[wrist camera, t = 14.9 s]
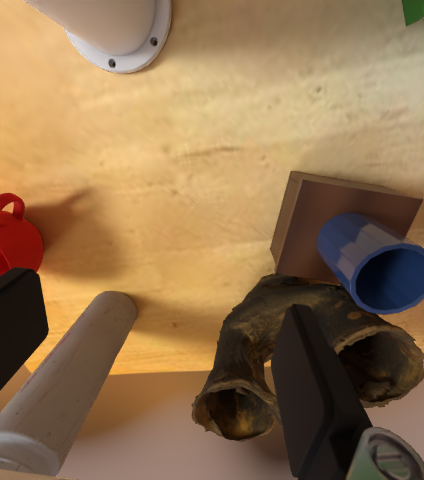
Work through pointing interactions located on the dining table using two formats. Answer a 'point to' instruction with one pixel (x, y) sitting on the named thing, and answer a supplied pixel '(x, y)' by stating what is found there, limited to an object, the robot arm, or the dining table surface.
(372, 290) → the cup
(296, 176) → the box
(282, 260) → the box lid
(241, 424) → the pottery vessel
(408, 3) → the hardback book
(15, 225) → the ceramic cup
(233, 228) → the dining table surface
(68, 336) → the thermos bottle
